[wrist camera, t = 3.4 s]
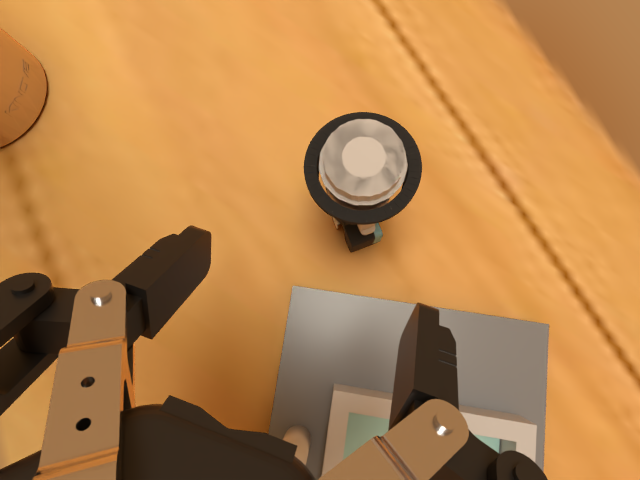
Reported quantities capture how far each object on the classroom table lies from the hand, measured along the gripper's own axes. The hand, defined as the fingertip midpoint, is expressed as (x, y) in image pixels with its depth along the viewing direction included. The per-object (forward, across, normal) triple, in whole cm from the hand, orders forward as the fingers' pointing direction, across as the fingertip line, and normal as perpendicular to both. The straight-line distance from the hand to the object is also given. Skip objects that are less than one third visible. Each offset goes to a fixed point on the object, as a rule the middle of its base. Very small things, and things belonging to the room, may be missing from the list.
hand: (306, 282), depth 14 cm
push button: (+13, 0, +4) cm, 13 cm away
